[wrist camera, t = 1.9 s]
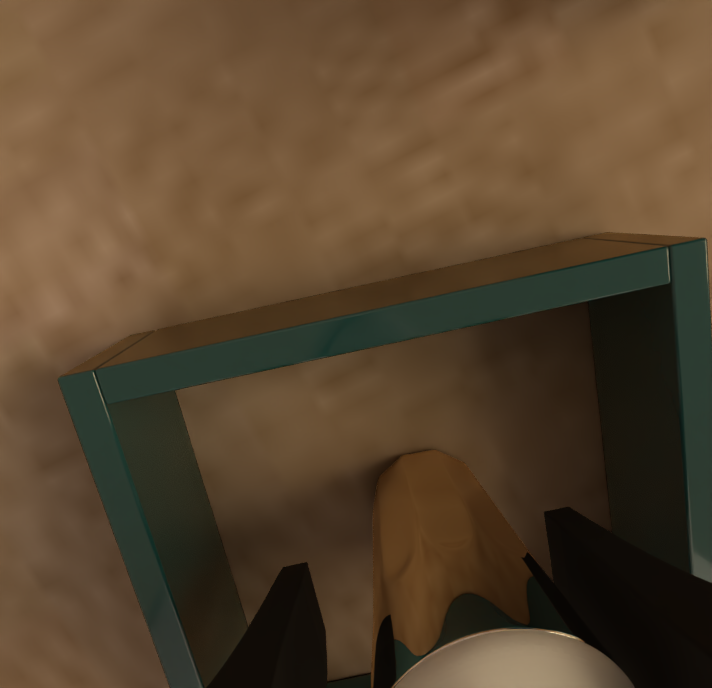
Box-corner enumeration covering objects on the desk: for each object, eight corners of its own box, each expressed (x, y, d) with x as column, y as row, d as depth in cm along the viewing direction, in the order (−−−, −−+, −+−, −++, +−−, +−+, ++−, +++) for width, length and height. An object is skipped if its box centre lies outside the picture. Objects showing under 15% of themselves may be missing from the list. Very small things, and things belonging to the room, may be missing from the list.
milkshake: (311, 448, 16) (278, 824, 6) (489, 415, 16) (743, 740, 6) (339, 578, 17) (349, 1074, 7) (505, 547, 17) (742, 1003, 7)
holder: (252, 716, 18) (229, 855, 14) (128, 335, 15) (54, 378, 11) (646, 634, 18) (733, 751, 14) (608, 231, 15) (708, 237, 11)
